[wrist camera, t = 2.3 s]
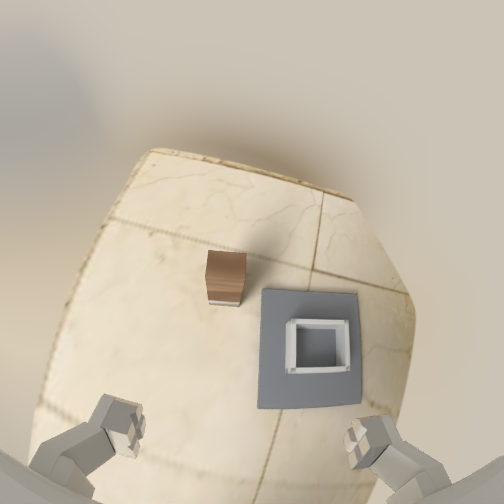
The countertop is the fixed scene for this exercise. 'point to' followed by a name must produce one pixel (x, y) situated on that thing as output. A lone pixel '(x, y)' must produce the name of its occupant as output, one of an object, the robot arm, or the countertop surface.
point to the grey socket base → (309, 350)
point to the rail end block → (225, 277)
